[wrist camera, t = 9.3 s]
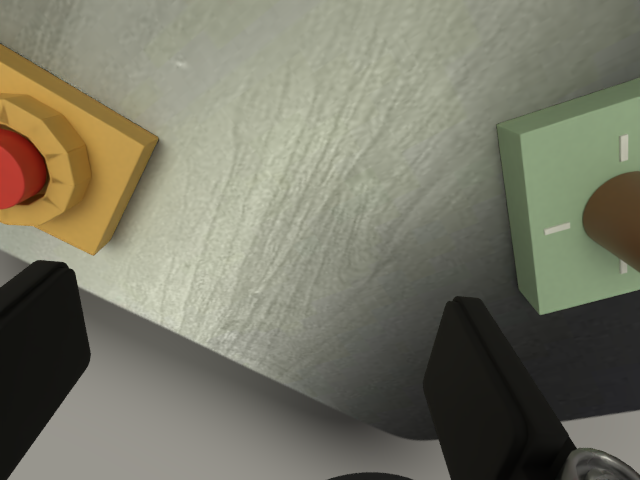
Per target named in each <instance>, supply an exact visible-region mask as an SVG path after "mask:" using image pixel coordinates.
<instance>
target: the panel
mask: <svg viewBox="0 0 640 480" xmlns="http://www.w3.org/2000/svg"><path fill="white" fill-rule="evenodd" d="M496 126H497V133H498V141H499V148H500V155H501V163H502V170H503V177H504V185H505V192H506V200H507V207H508V214H509V222H510V229H511V236H512V244H513V251H514V258H515V266H516V273H517V281H518V288H519V290H520V292H521V293H522V294H523V295H524V296H525V298H526V299H527V300H528V301H529V302H530V304H531V305H532V306H533V307H534V308H535V310H536V311H537V312H538V313H539V314H540V315H543V314H547V313H550V312H554V311H558V310H562V309H566V308H570V307H574V306H578V305H581V304H585V303H589V302H593V301H597V300H601V299H605V298H609V297H612V296H616V295H620V294H624V293H628V292H632V291H636V290H640V273H639V272H638V271H636V270H635V269H634V268H632V267H631V266H629V265H628V264H626V263H625V262H623V261H622V260H621V259H619V258H618V257H616V256H615V255H613V254H612V253H611V252H609V251H608V250H606V249H605V248H603V247H602V246H601V245H599V244H598V243H596V242H595V241H593V240H592V239H591V238H590V237H589V236H588V235H587V233H586V231H585V229H584V226H583V213H584V210H585V207H586V205H587V202H588V201H589V199H590V197H591V196H592V195H593V193H594V192H595V191H596V190H597V189H598V188H599V187H600V186H601V185H603V184H604V183H605V182H607V181H608V180H610V179H612V178H614V177H616V176H618V175H621V174H623V173H627V172H634V171H640V78H637V79H634V80H631V81H628V82H625V83H622V84H619V85H616V86H613V87H610V88H607V89H603V90H600V91H597V92H594V93H591V94H588V95H585V96H582V97H579V98H576V99H573V100H570V101H567V102H564V103H561V104H557V105H554V106H551V107H548V108H545V109H542V110H539V111H536V112H533V113H530V114H527V115H524V116H521V117H518V118H515V119H511V120H508V121H505V122H502V123H499V124H497V125H496Z"/></svg>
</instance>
